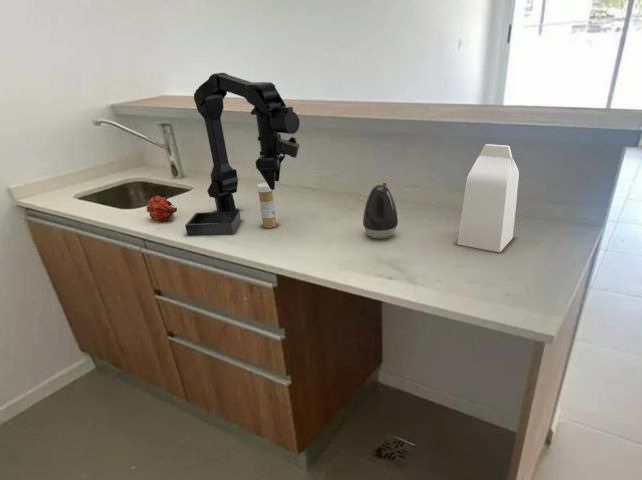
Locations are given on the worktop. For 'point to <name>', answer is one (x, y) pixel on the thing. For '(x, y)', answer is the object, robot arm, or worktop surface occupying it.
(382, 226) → the black egg-shaped piece
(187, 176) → the worktop surface
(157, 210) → the dragon fruit
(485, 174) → the milk
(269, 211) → the sprinkles bottle
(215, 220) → the rectangular frame
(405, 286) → the worktop surface
